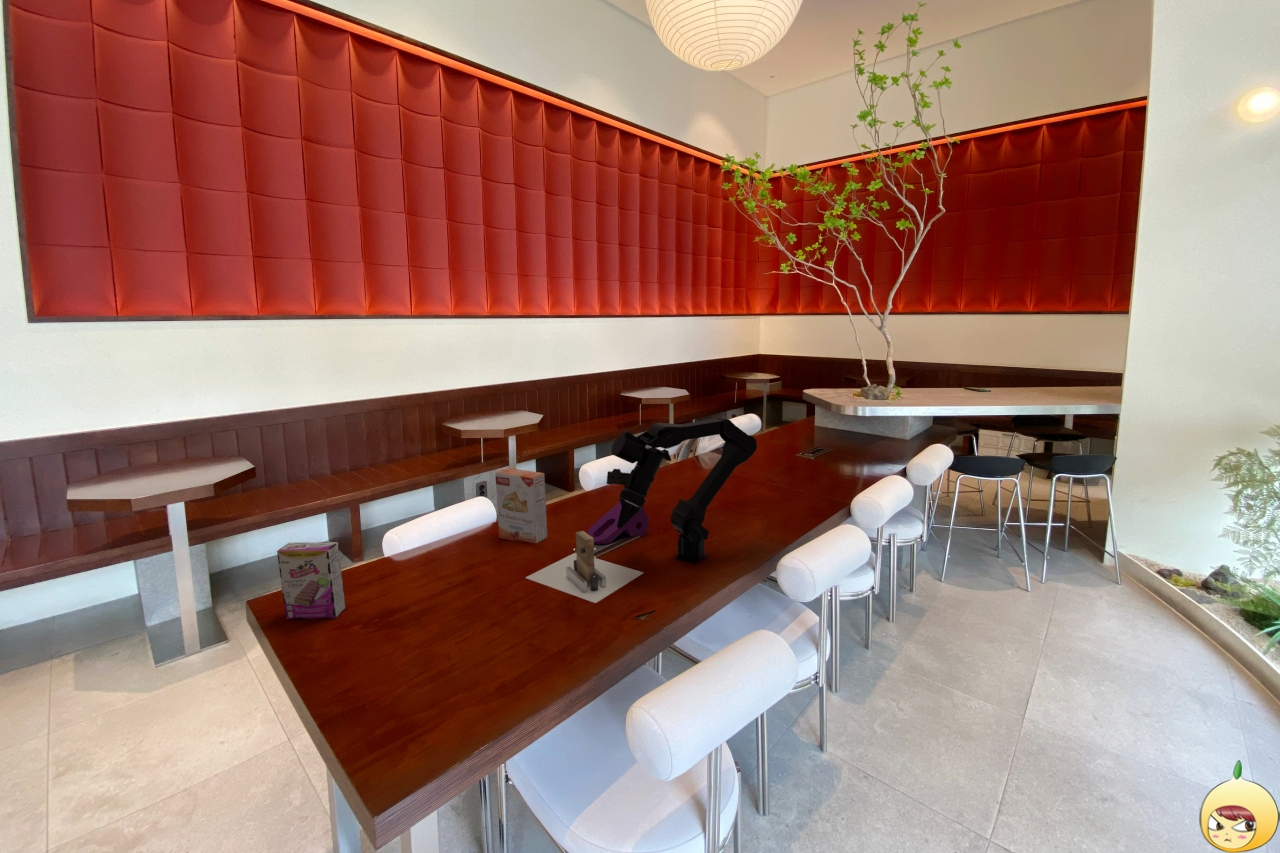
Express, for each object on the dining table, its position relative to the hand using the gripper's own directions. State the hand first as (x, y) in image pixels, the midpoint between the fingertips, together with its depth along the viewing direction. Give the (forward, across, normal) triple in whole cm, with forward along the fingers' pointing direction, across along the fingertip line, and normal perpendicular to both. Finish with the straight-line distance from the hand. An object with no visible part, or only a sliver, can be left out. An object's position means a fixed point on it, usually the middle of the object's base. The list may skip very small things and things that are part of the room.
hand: (619, 525), depth 147 cm
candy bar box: (+45, +17, -53) cm, 72 cm away
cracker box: (+20, -25, -24) cm, 40 cm away
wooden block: (+15, +4, -2) cm, 16 cm away
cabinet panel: (+16, 0, -2) cm, 16 cm away
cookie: (+13, +13, +13) cm, 22 cm away
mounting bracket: (+8, -27, 0) cm, 28 cm away
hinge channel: (+15, +4, -2) cm, 16 cm away
